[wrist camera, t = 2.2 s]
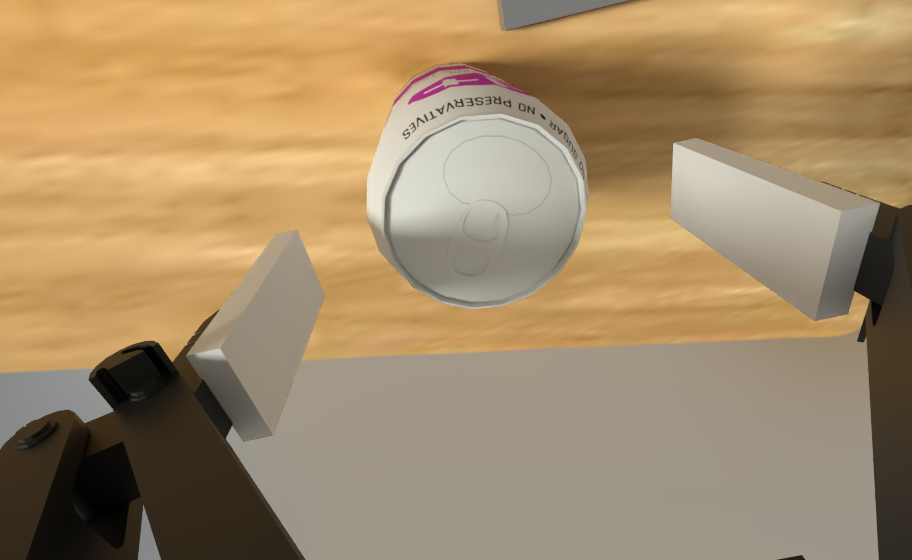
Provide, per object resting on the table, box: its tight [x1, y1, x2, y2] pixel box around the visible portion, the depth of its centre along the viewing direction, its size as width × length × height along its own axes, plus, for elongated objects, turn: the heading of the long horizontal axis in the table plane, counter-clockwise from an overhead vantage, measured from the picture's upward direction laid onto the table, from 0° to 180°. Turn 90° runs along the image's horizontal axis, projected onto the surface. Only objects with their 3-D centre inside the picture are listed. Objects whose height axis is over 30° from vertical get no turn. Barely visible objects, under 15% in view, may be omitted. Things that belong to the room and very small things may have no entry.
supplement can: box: [367, 63, 589, 309], centre depth 21 cm, size 8×8×15 cm
